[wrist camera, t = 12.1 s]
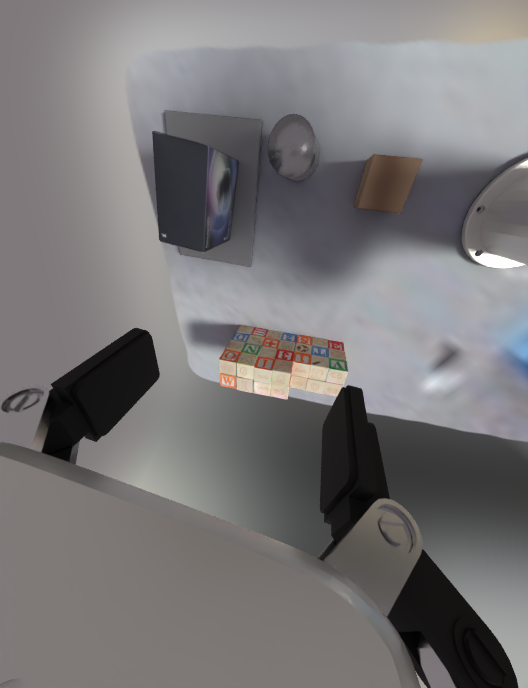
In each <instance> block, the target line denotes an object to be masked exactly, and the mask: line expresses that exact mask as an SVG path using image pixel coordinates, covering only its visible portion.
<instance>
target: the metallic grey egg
mask: <svg viewBox="0 0 528 688" xmlns="http://www.w3.org/2000/svg"><path fill="white" fill-rule="evenodd" d="M268 155H269V160H270V163H271V165H272V167H273V168H274V170H275V171H276V172H277V173H279V174H280V175H282V176H284V177H287V178H289V179H292V180H294V181H302V180H305V179H307V178H308V177H310V176H311V175H312V173H313V172H314V171H315V169H316V167H317V165H318V161H319V155H320V151H319V145H318V142H317V140H316V137H315V135H314V132H313V130H312V127H311V125H310V123H309V122H308V121H307V120H306V119H305V118H304V117H303V116H300V115H297V114H290V115H287V116H285V117H283V118H282V119H281V120H280V121H278V123H277V124H276V125H275V127H274V128H273V130H272V132H271V135H270V138H269V143H268Z"/></svg>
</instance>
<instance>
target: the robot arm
mask: <svg viewBox="0 0 528 688" xmlns="http://www.w3.org/2000/svg"><path fill="white" fill-rule="evenodd" d="M478 207H479V209H478V210H477V208H478ZM476 210H477V211H476ZM462 245H463V249H464V250H465V252H466V254H467V255H468V256H469V257H470V258H471V259H472V260H473V261H475V262H477V263H479V264H481V265H484V266H486V267H491V268H512V267H518V266H521V265H528V158H525V159H523V160H521V161H519V162H518V163H516V164H514V165H513V166H511V167H509V168H508V169H506V170H505V171H504V172H502V173H501V174H500V175H499V176H497V177H496V178H495V179H494V180H493V181H492V182H491V183H490V184H489V185H488V186H487V187H485V188H484V190H483V191H482V192H481V193H480V195H479V196H478V197H477V198H476V199H475V201H474V203H473V204H472V206H471V208H470V209H469V211H468V213H467V215H466V218H465V220H464V223H463V228H462ZM476 251H477V252H476ZM475 252H476V253H475ZM159 375H160V373H159V368H158V364H157V359H156V354H155V349H154V345H153V340H152V336H151V335H150V334H149V332H148V331H146V330H142V329H139V328H134V329H132V330H130V331H129V332H128V333H126V334H125V335H123V336H122V337H120V338H119V339H117V340H116V341H114V342H113V343H111V344H110V345H108V346H107V347H105V348H104V349H102V350H101V351H99V352H98V353H96V354H95V355H93V356H92V357H91V358H89V359H87V360H86V361H84V362H83V363H82V364H80V365H79V366H77V367H76V368H74V369H73V370H71V371H70V372H68V373H67V374H65V375H64V376H62V377H61V378H59V379H58V380H57V381H55V382H53V383H52V384H51V385H52V387H53V389H52V390H50V391H49V390H48V388H47V387H44V386H40V385H34V386H28V387H24V388H21V389H18V390H15V391H13V392H11V393H10V394H8V395H6V396H5V397H3V398H2V399H1V400H0V688H421V687H420V684H419V681H418V678H417V675H416V672H417V674H418V676H419V677H420V678H421V680H422V681H423V682H424V684H425V685H426V686H427V688H518V683H517V678H516V675H515V673H514V670H513V668H512V665H511V663H510V660H509V658H508V657H507V655H506V653H505V651H504V649H503V648H502V646H501V644H500V643H499V641H498V640H497V638H496V637H495V636H494V634H493V633H492V632H491V630H490V629H489V628H488V627H487V625H486V624H485V623H484V622H483V621H482V620H481V618H480V617H479V616H478V615H477V614H476V612H475V611H474V610H473V609H472V607H471V606H470V605H469V604H468V603H467V602H466V600H465V599H464V598H463V597H462V595H461V594H460V593H459V592H458V591H457V589H456V588H455V587H454V586H453V585H452V583H451V582H450V581H449V580H448V579H447V578H446V576H445V575H444V574H443V573H442V572H441V570H440V569H439V568H438V567H437V565H436V564H435V563H434V562H433V561H432V559H431V558H430V557H429V556H428V555H427V553H426V552H425V551H424V550H423V549H422V548H423V545H422V537H421V534H420V531H419V528H418V526H417V524H416V522H415V521H414V519H413V518H412V516H411V515H410V514H409V513H408V511H407V510H405V509H404V508H403V507H402V506H401V505H400V504H398V503H396V502H395V501H393V500H390V498H389V493H388V488H387V483H386V477H385V473H384V467H383V463H382V457H381V452H380V447H379V442H378V437H377V432H376V428H375V426H374V424H372V423H369V422H368V421H367V416H366V409H365V403H364V397H363V391H362V389H361V388H357V387H353V386H350V385H348V386H347V387H346V388H344V387H342V388H341V390H340V392H339V394H338V396H337V398H336V400H335V402H334V404H333V406H332V408H331V410H330V412H329V414H328V416H327V418H326V420H325V422H324V424H323V430H322V461H321V492H320V494H321V495H320V511H321V512H322V513H324V522H325V523H328V524H331V531H332V532H331V535H332V537H333V540H332V541H331V543H330V544H329V545H328V546H327V547H326V548H325V550H324V551H323V552H322V553H321V554H320V555H319V557H318V558H315V557H313V556H311V555H309V554H307V553H305V552H303V551H300V550H298V549H296V548H294V547H291V546H289V545H287V544H284V543H282V542H279V541H276V540H274V539H272V538H269V537H266V536H264V535H261V534H259V533H257V532H254V531H252V530H249V529H246V528H244V527H241V526H238V525H235V524H233V523H230V522H228V521H225V520H222V519H220V518H217V517H215V516H212V515H209V514H207V513H204V512H201V511H198V510H196V509H193V508H191V507H188V506H185V505H183V504H180V503H177V502H175V501H172V500H169V499H167V498H164V497H161V496H159V495H156V494H153V493H151V492H148V491H145V490H143V489H140V488H137V487H134V486H132V485H129V484H126V483H124V482H121V481H118V480H116V479H113V478H110V477H107V476H104V475H102V474H99V473H97V472H94V471H91V470H88V469H86V468H83V467H80V466H77V465H76V460H77V454H78V448H79V442H80V440H81V439H82V438H83V437H84V436H85V438H87V439H89V440H92V441H95V442H97V441H98V440H99V439H100V438H101V436H104V435H106V434H107V433H108V432H109V431H110V430H111V429H112V428H113V427H114V426H115V425H116V424H117V423H118V422H119V421H120V420H121V419H122V417H123V416H124V415H125V414H126V413H127V412H128V411H129V410H130V409H131V408H132V407H133V405H134V404H136V403H137V401H138V400H139V399H140V398H141V397H142V396H143V395H144V394H145V393H146V392H147V391H148V390H149V389H150V387H152V385H153V384H154V383H155V382H156V381H157V380H158V378H159ZM415 671H416V672H415Z"/></svg>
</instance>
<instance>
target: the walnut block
mask: <svg viewBox="0 0 528 688" xmlns="http://www.w3.org/2000/svg"><path fill="white" fill-rule="evenodd" d="M422 160H423V159H417V158H407V157H397V156H386V155H376V154H374V155H373V156H372V157H370V158H369V159H368V160H367V161H366V164H365V168H364V171H363V175H362V178H361V182H360V185H359V189H358V192H357V196H356V199H355V203H354V206H353V207H357V208H363V209H371V210H378V211H386V212H394V213H401V212H402V209H403V207H404V204H405V202H406V199H407V197H408V194H409V192H410V189H411V187H412V184H413V182H414V179H415V177H416V174H417V172H418V170H419V167H420V165H421V162H422Z"/></svg>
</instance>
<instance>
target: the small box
mask: <svg viewBox="0 0 528 688" xmlns="http://www.w3.org/2000/svg"><path fill="white" fill-rule="evenodd" d="M152 134H153V150H154V165H155V181H156V197H157V212H158V227H159V240H160V241H161V242H165V243H169V244H172V245H175V246H179V247H183V248H186V249H190V250H194V251H198V252H201V253H204V252H206V251H208V250H210V249H212V248H214V247H216V246H218V245H221V244H223V243H225V242H227V241H229V240H230V235H231V226H232V218H233V209H234V201H235V192H236V183H237V174H238V165H239V161H238V160H236V159H234V158H232V157H230V156H228V155H226V154H224V153H222V152H220V151H218V150H216V149H214V148H212V147H210V146H208V145H206V144H202V143H199V142H196V141H192V140H188V139H184V138H180V137H176V136H172V135H168V134H164V133H160V132H156V131H153V132H152Z"/></svg>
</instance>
